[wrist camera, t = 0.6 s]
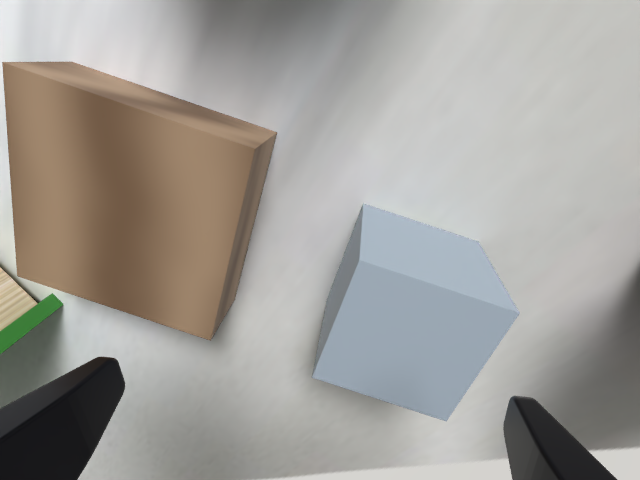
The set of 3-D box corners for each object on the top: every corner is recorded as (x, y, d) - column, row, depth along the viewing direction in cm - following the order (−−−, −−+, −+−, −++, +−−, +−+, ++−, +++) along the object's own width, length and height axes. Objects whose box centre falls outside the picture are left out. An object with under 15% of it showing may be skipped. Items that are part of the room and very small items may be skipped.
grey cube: (478, 241, 19) (519, 313, 14) (428, 331, 22) (446, 421, 16) (363, 202, 19) (359, 260, 13) (327, 298, 21) (311, 377, 16)
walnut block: (278, 131, 18) (255, 149, 14) (236, 295, 23) (210, 340, 19) (76, 61, 18) (2, 61, 14) (74, 241, 22) (17, 275, 19)
